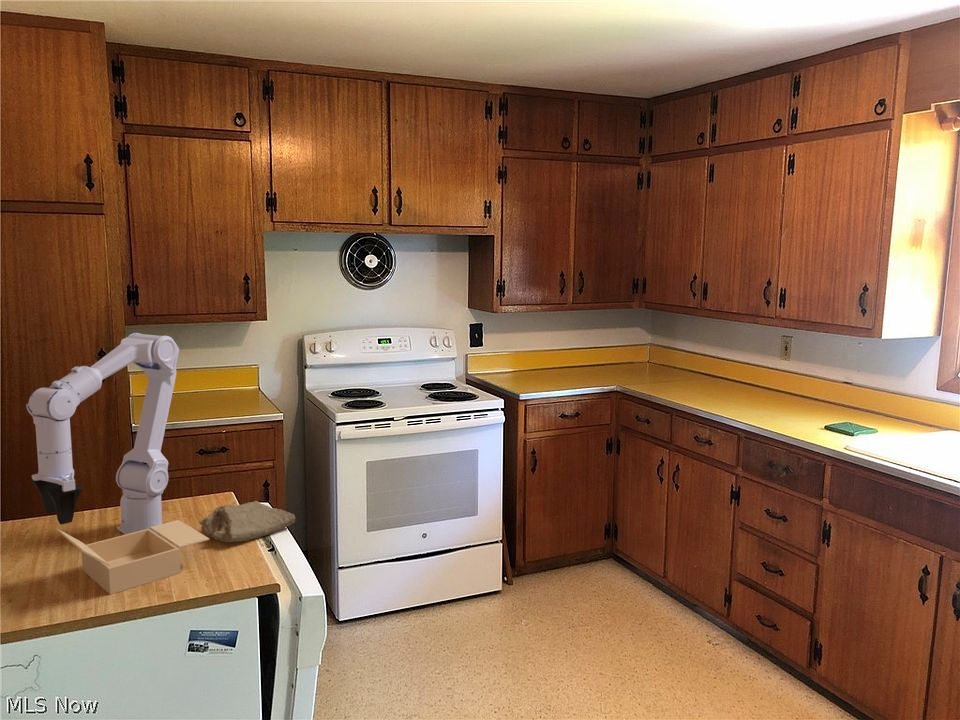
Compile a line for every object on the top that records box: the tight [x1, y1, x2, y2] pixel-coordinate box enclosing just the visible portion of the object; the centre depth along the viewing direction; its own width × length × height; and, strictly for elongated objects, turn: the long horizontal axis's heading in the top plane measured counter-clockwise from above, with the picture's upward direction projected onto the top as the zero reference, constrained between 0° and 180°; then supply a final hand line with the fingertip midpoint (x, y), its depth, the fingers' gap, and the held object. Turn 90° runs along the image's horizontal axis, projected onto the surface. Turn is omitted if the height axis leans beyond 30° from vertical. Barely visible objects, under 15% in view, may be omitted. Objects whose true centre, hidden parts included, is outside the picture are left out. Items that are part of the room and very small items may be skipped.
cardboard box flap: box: [55, 528, 110, 566], centre depth 136 cm, size 14×6×1 cm
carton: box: [80, 519, 210, 596], centre depth 145 cm, size 14×19×5 cm
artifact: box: [198, 500, 296, 543], centre depth 164 cm, size 18×7×15 cm
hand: (59, 517), depth 143 cm, fingers open, 7 cm apart
